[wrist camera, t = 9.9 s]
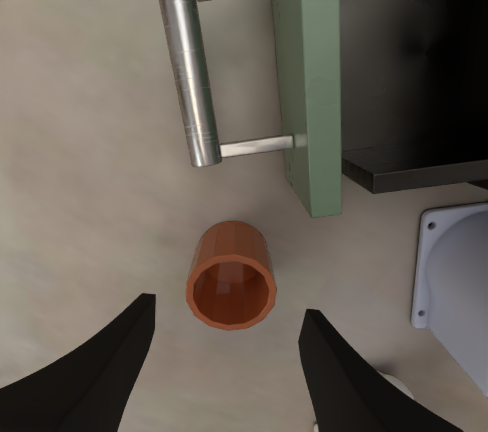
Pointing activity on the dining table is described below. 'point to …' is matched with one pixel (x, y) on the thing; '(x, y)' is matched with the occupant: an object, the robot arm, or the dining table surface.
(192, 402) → the dining table surface
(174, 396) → the dining table surface
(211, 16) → the dining table surface
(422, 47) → the green drawer
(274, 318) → the dining table surface
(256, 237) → the cup
